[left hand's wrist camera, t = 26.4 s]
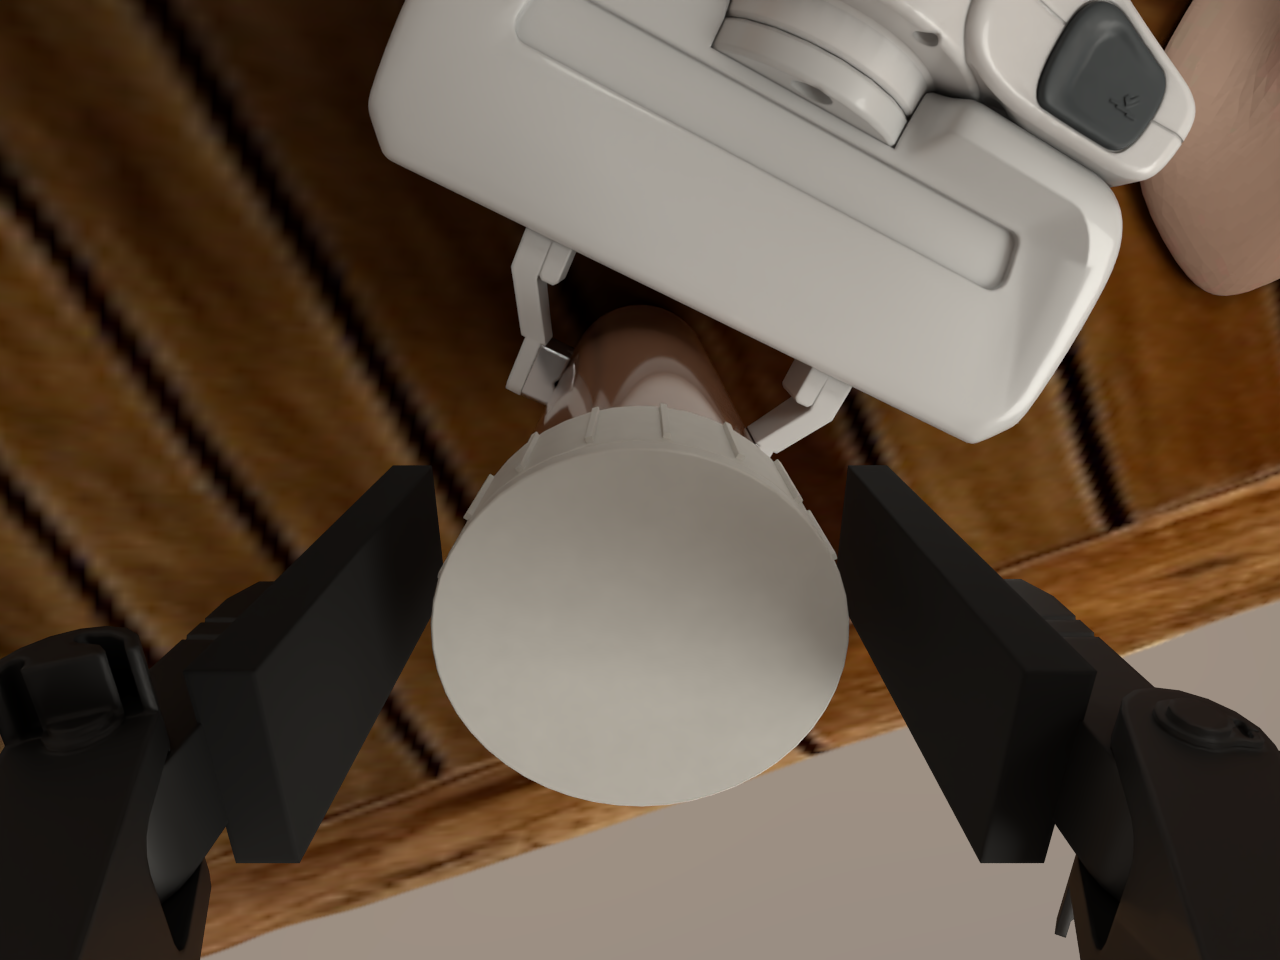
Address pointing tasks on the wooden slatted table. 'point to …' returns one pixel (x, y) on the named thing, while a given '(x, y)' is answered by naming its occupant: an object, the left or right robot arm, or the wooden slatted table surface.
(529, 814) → the wooden slatted table surface
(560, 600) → the lid
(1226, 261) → the anatomical model
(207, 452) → the wooden slatted table surface
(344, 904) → the wooden slatted table surface
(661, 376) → the jar
